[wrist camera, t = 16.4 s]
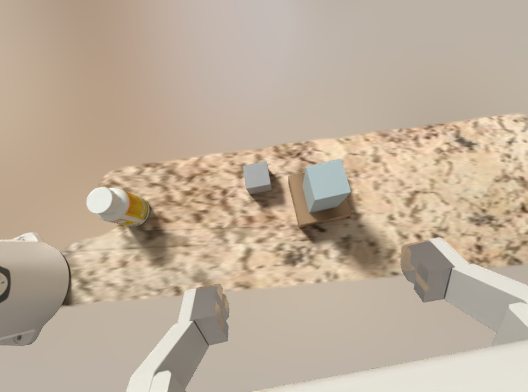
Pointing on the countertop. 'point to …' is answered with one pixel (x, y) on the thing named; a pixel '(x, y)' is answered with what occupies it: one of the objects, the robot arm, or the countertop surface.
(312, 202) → the pillar
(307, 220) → the plinth
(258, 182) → the block
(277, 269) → the countertop surface
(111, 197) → the supplement bottle
